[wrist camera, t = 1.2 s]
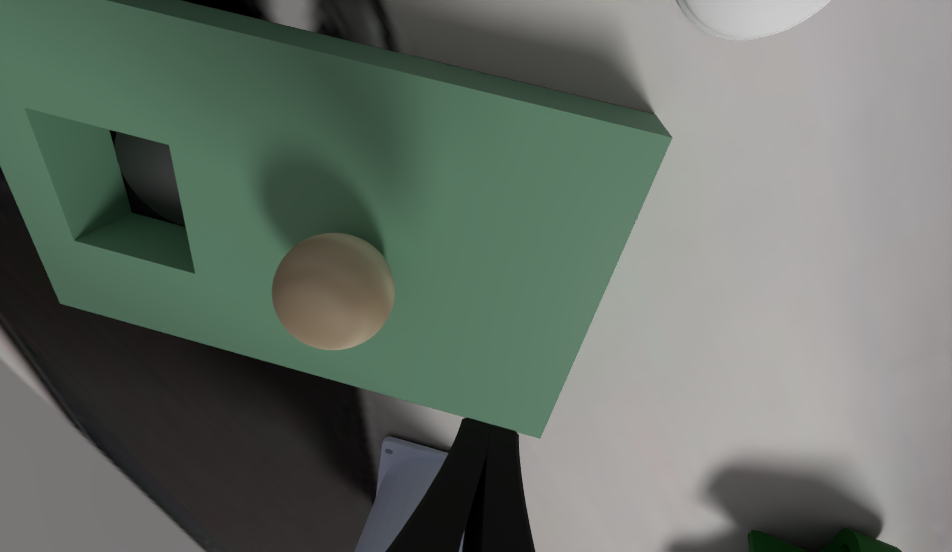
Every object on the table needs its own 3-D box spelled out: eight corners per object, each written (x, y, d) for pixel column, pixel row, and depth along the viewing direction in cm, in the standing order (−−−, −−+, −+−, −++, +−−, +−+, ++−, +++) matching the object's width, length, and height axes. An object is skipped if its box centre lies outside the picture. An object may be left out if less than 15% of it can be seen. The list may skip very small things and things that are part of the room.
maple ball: (404, 315, 18) (366, 389, 14) (310, 290, 18) (251, 356, 15) (415, 229, 16) (373, 292, 12) (308, 201, 16) (237, 256, 12)
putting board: (655, 114, 15) (672, 137, 12) (543, 390, 23) (540, 438, 20) (10, -41, 16) (-93, -49, 14) (113, 271, 24) (59, 303, 21)
